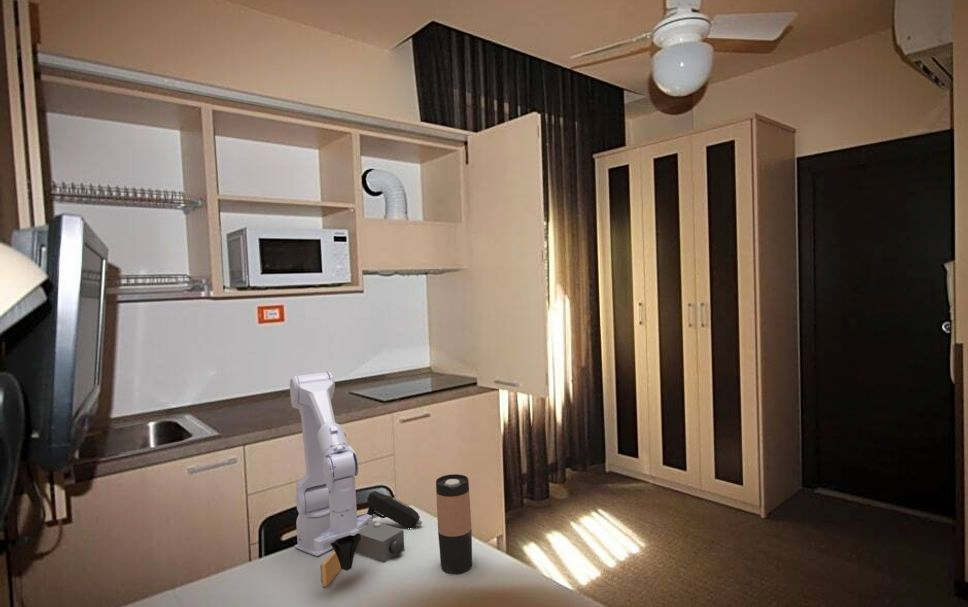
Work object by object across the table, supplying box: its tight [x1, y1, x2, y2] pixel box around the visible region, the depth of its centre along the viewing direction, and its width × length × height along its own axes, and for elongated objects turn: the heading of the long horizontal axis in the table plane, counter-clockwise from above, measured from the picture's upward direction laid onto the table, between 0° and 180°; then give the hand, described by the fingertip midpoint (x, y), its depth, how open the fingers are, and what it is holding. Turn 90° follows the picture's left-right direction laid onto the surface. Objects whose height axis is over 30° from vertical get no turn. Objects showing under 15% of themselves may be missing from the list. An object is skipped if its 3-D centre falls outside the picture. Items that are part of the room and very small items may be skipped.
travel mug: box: [435, 473, 473, 575], centre depth 123 cm, size 8×8×20 cm
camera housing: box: [355, 521, 405, 563], centre depth 132 cm, size 12×7×6 cm, turn 54°
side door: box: [319, 550, 342, 588], centre depth 125 cm, size 15×1×5 cm, turn 170°
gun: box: [366, 491, 423, 530], centre depth 146 cm, size 3×16×10 cm, turn 79°
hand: (346, 568), depth 118 cm, fingers closed
